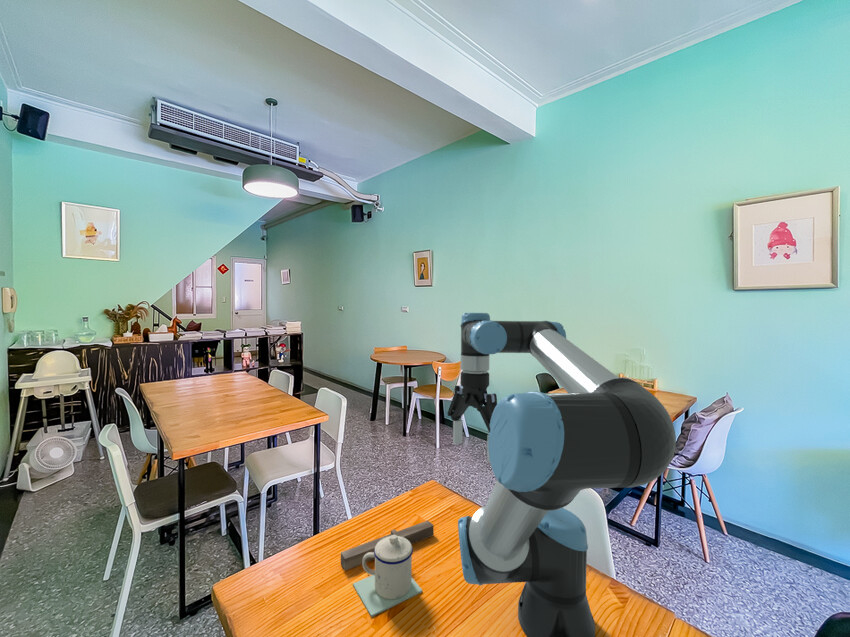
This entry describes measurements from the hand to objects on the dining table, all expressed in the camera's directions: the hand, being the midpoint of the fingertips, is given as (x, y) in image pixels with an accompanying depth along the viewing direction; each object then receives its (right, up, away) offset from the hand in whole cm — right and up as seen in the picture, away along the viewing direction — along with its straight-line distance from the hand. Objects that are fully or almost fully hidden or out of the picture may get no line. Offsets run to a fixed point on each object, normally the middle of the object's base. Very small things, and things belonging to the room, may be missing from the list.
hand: (473, 451), depth 93 cm
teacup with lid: (-22, -28, -9) cm, 37 cm away
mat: (-22, -29, -10) cm, 37 cm away
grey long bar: (-21, -28, +2) cm, 36 cm away
